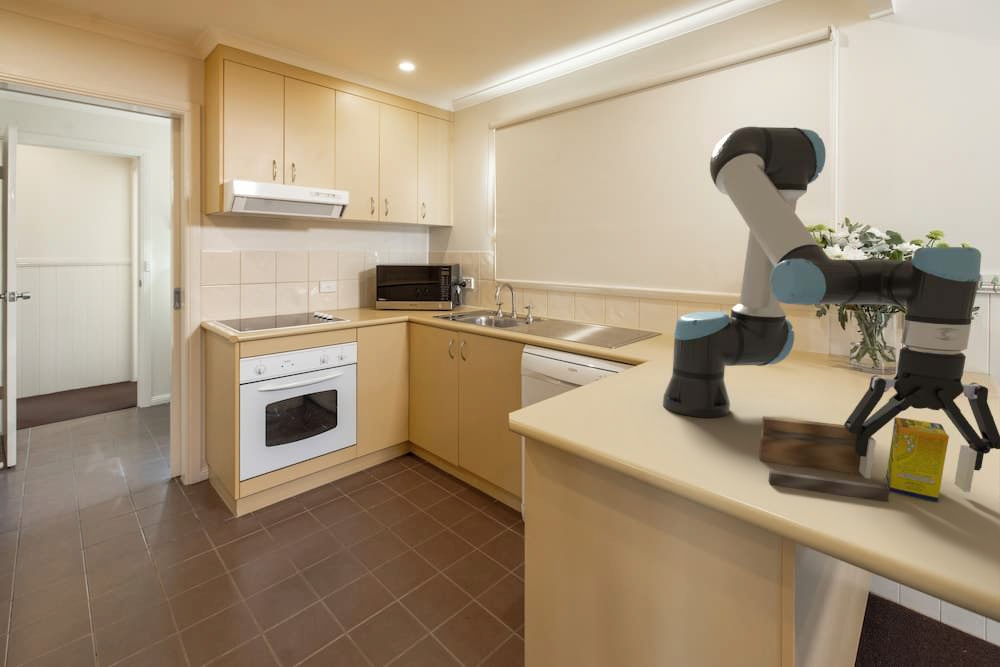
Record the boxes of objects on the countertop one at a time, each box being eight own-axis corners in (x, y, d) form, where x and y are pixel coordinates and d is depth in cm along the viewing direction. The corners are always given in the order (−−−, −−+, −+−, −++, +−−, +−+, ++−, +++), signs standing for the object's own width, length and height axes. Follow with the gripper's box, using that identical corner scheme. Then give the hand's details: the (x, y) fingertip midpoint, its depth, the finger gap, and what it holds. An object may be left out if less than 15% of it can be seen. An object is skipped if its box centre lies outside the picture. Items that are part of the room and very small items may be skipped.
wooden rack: (769, 484, 78) (774, 438, 77) (758, 457, 89) (762, 416, 87) (887, 501, 73) (895, 452, 72) (861, 471, 83) (867, 427, 82)
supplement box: (884, 477, 81) (893, 416, 79) (931, 487, 77) (942, 423, 76) (888, 492, 76) (898, 426, 74) (938, 503, 73) (950, 435, 71)
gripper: (846, 348, 73) (830, 478, 77) (1056, 360, 65) (1027, 506, 69) (831, 340, 80) (817, 460, 84) (1019, 350, 72) (994, 483, 76)
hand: (911, 481), depth 76 cm, fingers open, 12 cm apart
